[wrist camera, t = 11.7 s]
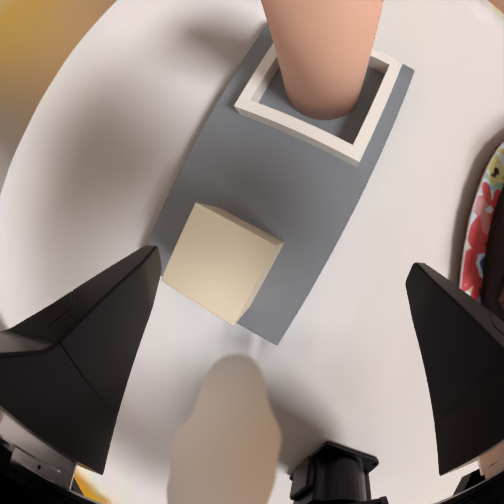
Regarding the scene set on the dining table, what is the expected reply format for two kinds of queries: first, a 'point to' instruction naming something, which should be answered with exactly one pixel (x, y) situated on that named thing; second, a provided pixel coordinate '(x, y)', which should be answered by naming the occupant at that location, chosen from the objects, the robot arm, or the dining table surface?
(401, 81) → the base plate
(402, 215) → the dining table surface
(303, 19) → the pillar
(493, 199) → the chocolate cake
